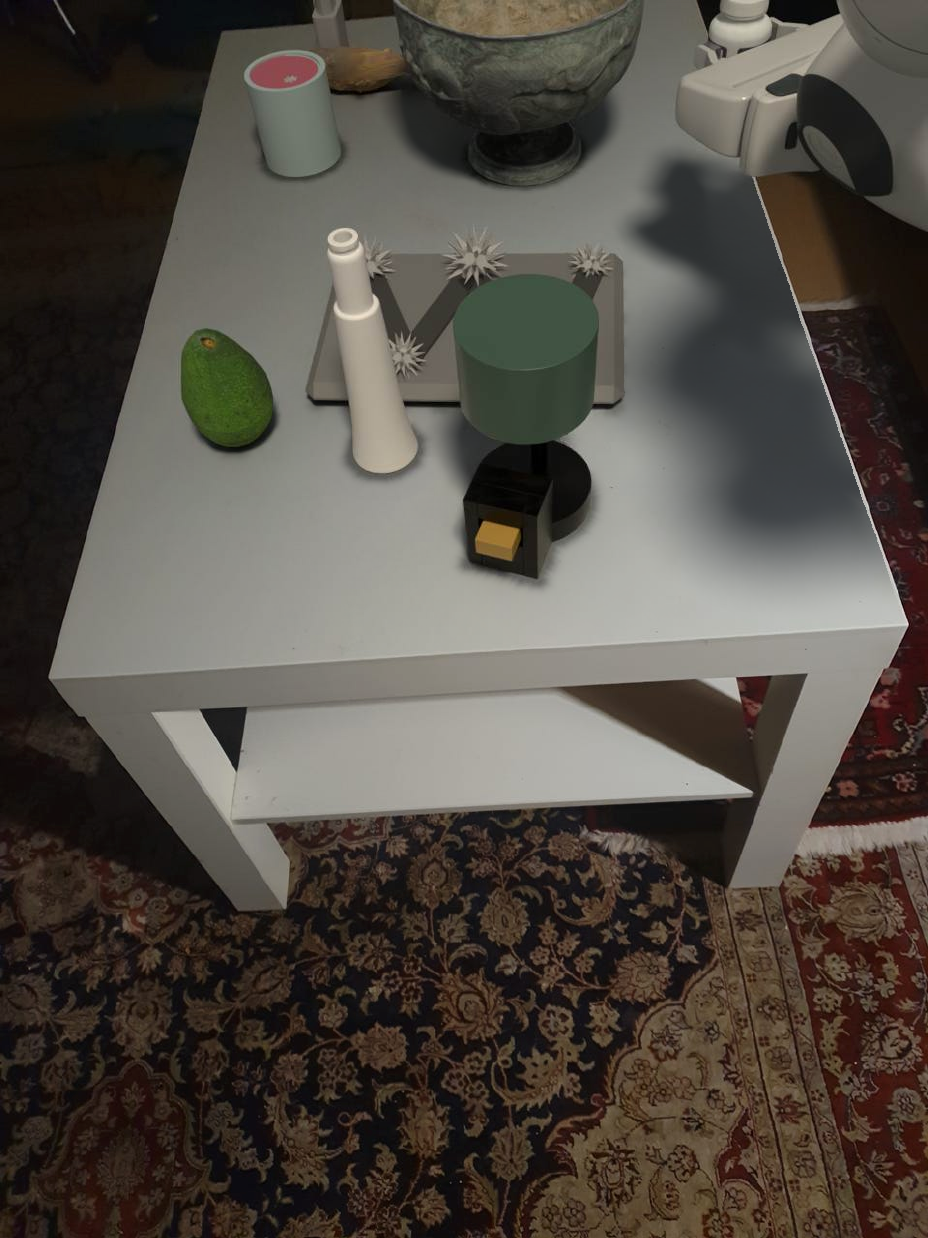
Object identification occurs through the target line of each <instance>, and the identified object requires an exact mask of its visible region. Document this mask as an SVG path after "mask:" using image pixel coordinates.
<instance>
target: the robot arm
mask: <svg viewBox="0 0 928 1238" xmlns="http://www.w3.org/2000/svg"><path fill="white" fill-rule="evenodd" d="M836 4H837V7H838V11H839V13H838V14H835V15H833V16H831V17H829V18H826V19H823V20H820V21H818V22H815V23H813V24H810V25H809V24H806V23H796V22H786V21H785V22H783V21H781V20H780V19H777V18H776V17H774V16H770V17H769V18H770V20H771V22H772V34H771V38H770V42H768V43H765V44H763V45H760V46H758V47H755V48H753V49H750V50H747V51H745V52H742V53H740V54H737V55H735V56H732V57H730V58H727V59H726V58H721V59H719V57H720V55H721V46H719V45H717V44H714V42H712V41H710V42H707V41H706V42H704V43H701V44H699V45H697V46H696V47H695V48H694V55H693V65H694V67H695V68H696V69H697V70H695V71H692V72H689V73H687V74H685V75H683V76H682V77H681V78H680V79H679V82H678V87H677V92H676V97H675V108H674V109H675V111H674V112H675V116H674V117H675V121H676V123H677V125H678V127H679V128H680V129H681V130H682V131H684V132H685V133H686V134H688V136H690V137H691V138H692V139H694V140H695V141H697V142H698V143H701V145H703V146H704V147H706V148H708V149H710V150H711V151H713V152H715V153H717V154H718V155H721V156H723V157H727V158H739V169H740V171H741V172H742V173H744V174H745V175H747V176H749V177H752V178H760V177H766V176H772V175H777V174H783V173H792V172H793V173H794V172H809V173H810V172H812V173H813V172H818V171H821V172H823V174H825V175H826V176H827V177H829V178H830V179H832V180H833V181H834V182H836V183H837V184H839V185H840V186H842V187H843V188H845V189H846V190H848V191H849V192H851V193H853V194H854V195H856V196H858V197H859V196H861V197H863V198H865V199H866V200H867V201H868V202H870V203H872V204H873V205H875V206H876V207H878V208H880V209H881V210H882V211H884V212H886V213H888V214H889V215H891V216H892V217H895V218H897V219H898V220H900V221H902V222H905V223H907V224H909V225H911V226H913V227H915V228H917V229H920V230H922V231H925V232H926V233H928V0H836Z"/></svg>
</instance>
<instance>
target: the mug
mask: <svg viewBox="0 0 928 1238" xmlns="http://www.w3.org/2000/svg"><path fill="white" fill-rule="evenodd" d="M308 51H309V50H302V49H288V50H279V51H276V52H271V53H268V54H266V55H263V56H261V57H259V58H257V59H255V60H254V61H252V62H251V63H250V64H249V65H248V66H247V68H246V69H245V71H244V74H243V77H244V82H245V86H246V89H247V93H248V97H249V102H250V105H251V109H252V113H253V117H254V120H255V124H256V128H257V132H258V136H259V140H260V144H261V148H262V151H263V154H264V159H265V163H266V166H267V167H268V169H269V170H270V171H271V172H273V173H275V174H276V175H279V176H282V177H287V178H288V177H289V178H303V177H304V178H305V177H310V176H314V175H317V174H320V173H323V172H324V171H325V172H326V170H328V169H330V168H332V167H333V166H334V165H335V164H336V163H337V162H338V161H339V160H340V158H341V155H342V148H341V141H340V137H339V131H338V126H337V120H336V116H335V111H334V110H335V109H334V104H333V98H332V93H331V88H329V83H328V77H327V72H326V67H325V62H324V60H323V59H322V58H321V57H320V56H319V55H317V54H315V53H312V52H308Z"/></svg>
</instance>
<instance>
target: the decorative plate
mask: <svg viewBox="0 0 928 1238" xmlns="http://www.w3.org/2000/svg"><path fill="white" fill-rule="evenodd" d="M475 228H476V227H475V224H474V223H473V226H472V233H471V235H470V233H469V230H468V227H467V226H465V228H464V229H465V241H466V242H465V241H464V240H463V239H462V238H461V237H459V236H458V234H456V233H455V232H453V236H454V238H455V240H456V242H457V244H458V245H459V246H458V245H455V244H452V243H451V242H449V241H448V242H447V243H448V244H449V245H447V247H448V248H449V249H450V250H451V251H453V253H391V252H392V248H390V249H388V250H386V251H384V252H381V249H382V247H383V245H384V242H383V240H381V241H380V242H379V244H378V245H377V246H376V244H377V238H378V237H377V236H375V238H374V241H373V242H372V244H371V246H370V248H369V243H368V241H367V237H366V235H364V240H363V239H360V238H359V242H360V243H361V244H362V245H363V247H364V251H365V256H366V262H367V267H368V273H369V278H370V283H371V289H372V294H374V295H375V296H376V297H377V298H378V300H379V303H380V307H381V311H382V315H383V319H384V323H385V327H386V331H387V335H388V340H389V344H390V349H391V353H392V357H393V362H394V366H395V371H396V375H397V379H398V383H399V387H400V391H401V395H402V399H403V402H437V403H438V402H439V403H440V402H441V403H443V402H444V403H445V402H446V403H460V394H459V383H458V373H457V363H456V353H455V343H454V333H453V319H454V315H455V312H456V310H457V308H458V306H459V305H460V303H461V302H462V301H463V300H464V298H465V297H466V296H467V295H469V294H470V293H471V292H472V291H474V290H475V289H476V288H478V287H480V286H482V285H483V284H485V283H488V282H490V281H492V280H495V279H498V278H502V277H506V276H511V275H518V274H541V275H548V276H553V277H557V278H560V279H563V280H566V281H568V282H570V283H572V284H574V285H576V286H578V287H579V288H581V289H582V290H583V291H584V292H586V293H587V294H588V295H589V296H590V298H591V299H592V300H593V302H594V304H595V306H596V308H597V311H598V314H599V330H598V346H597V361H596V377H595V393H594V402H593V405H594V404H595V405H596V404H597V405H600V404H601V405H614V404H616V402H618V401H619V400H620V399H622V398H623V397H624V396H625V326H624V324H625V319H624V318H625V317H624V316H625V315H624V312H625V311H624V308H625V307H624V305H625V304H624V261H623V260H622V259H621V258H620V257H619V256H618V255H617V254H615V253H614V252H612V251H609V252H603V251H604V248H605V245H606V244H604V245H603V246H599V245H600V242H598V243H597V245H596V246H595V248H594V250H593V246H592V241H591V240H590V241H589V247H588V242H585V244H583V250H584V251H583V250H582V249H581V248H580V246H578V245H576V247H575V248H576V251H577V252H560V253H557V252H556V253H555V252H553V253H552V252H551V253H550V252H548V253H547V252H546V253H545V252H544V253H543V252H541V253H539V252H536V253H533V252H532V253H531V252H529V253H524V252H523V253H520V252H519V253H518V252H517V253H513V252H511V253H507V251H506V252H505V251H504V252H494V251H496V250H498V248H499V247H500V246H501V245H502V244H503V243H504V240H502V241H499V242H498V243H496V244H492V245H490V242H491V240H492V236H493V235H494V231H495V230H493V231H492V232H491V233H490V235H489V236H488V237H487V233H488V232H487V228H488V226H486V227H485V228H484V230H483V232H482V234H481V236H480V238H479V239H478V238H477V234H476V229H475ZM486 237H487V238H486ZM380 252H381V253H380ZM336 300H337V298H336V294H335V289H334V285H333V284H332V285H331V289H330V293H329V297H328V301H327V305H326V307H325V313H324V316H323V320H322V323H321V328H320V331H319V336H318V338H317V339H318V340H317V343H316V348H315V351H314V354H313V359H312V363H311V367H310V371H309V374H308V379H307V382H306V386H305V392H306V394H307V395H308V396H309V397H311V399H313V401H349V399H348V393H347V387H346V381H345V375H344V370H343V364H342V358H341V353H340V347H339V341H338V335H337V329H336V322H335V315H334V304H335V302H336Z"/></svg>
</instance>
